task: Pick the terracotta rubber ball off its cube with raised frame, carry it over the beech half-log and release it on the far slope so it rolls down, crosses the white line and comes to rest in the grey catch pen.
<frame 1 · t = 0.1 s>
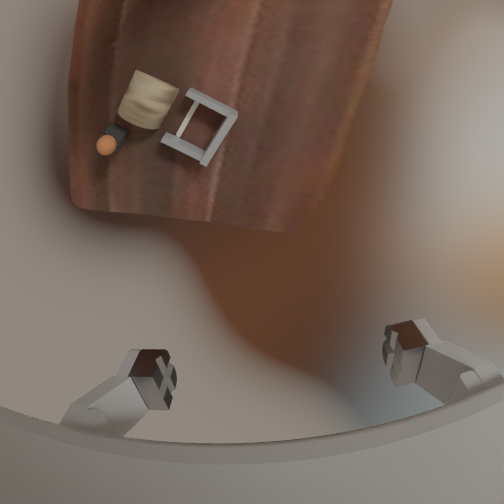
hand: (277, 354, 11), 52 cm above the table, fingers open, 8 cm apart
ball: (106, 145, 50), point 6 cm above the table, touching cube with raised frame
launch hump: (147, 98, 50), on the table
cube with raised frame: (116, 135, 55), on the table
catch pen: (201, 124, 55), on the table
line: (187, 117, 53), on the table
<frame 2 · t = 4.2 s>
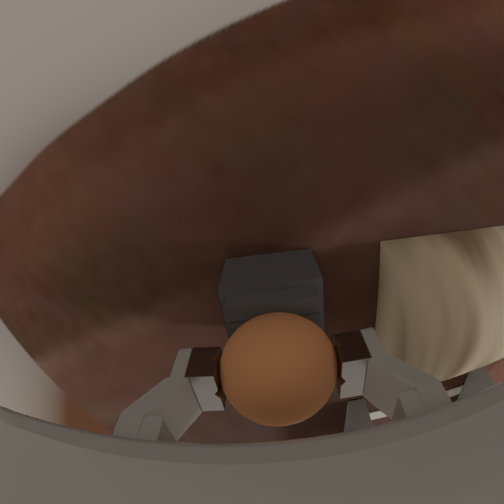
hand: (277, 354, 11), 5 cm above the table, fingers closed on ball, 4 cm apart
ball: (278, 369, 10), point 6 cm above the table, touching gripper, cube with raised frame
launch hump: (442, 309, 15), on the table
cube with raised frame: (272, 290, 15), on the table
catch pen: (407, 425, 20), on the table
line: (415, 404, 19), on the table
when the fingers open (7 cm above the table, at t = 7.7 s): ball drops 5 cm, point 2 cm above the table.
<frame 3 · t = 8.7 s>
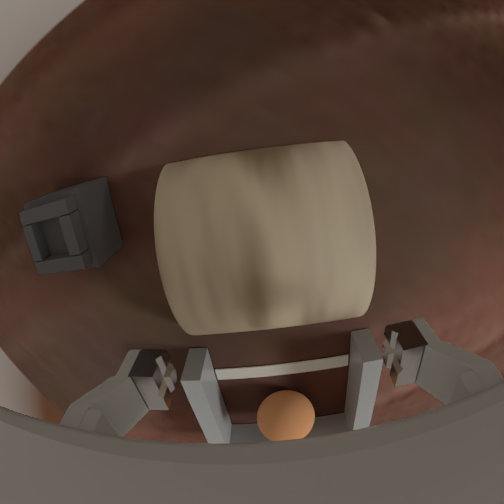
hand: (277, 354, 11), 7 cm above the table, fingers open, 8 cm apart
ball: (285, 417, 19), point 2 cm above the table
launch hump: (267, 243, 16), on the table
cube with raised frame: (86, 217, 16), on the table
catch pen: (285, 396, 20), on the table
line: (282, 368, 19), on the table
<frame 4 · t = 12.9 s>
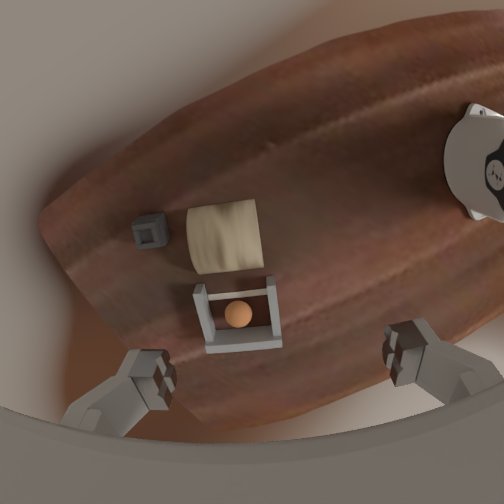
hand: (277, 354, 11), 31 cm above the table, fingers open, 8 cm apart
ball: (238, 314, 44), point 2 cm above the table, tilted 24°
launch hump: (227, 238, 42), on the table
cube with raised frame: (154, 227, 42), on the table
catch pen: (240, 311, 46), on the table
line: (237, 294, 45), on the table
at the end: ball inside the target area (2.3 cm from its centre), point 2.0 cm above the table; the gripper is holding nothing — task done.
